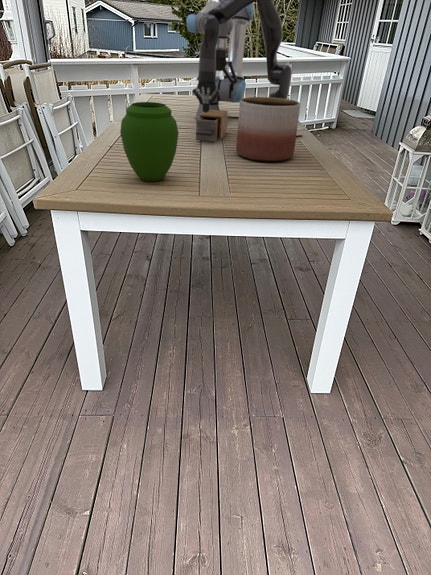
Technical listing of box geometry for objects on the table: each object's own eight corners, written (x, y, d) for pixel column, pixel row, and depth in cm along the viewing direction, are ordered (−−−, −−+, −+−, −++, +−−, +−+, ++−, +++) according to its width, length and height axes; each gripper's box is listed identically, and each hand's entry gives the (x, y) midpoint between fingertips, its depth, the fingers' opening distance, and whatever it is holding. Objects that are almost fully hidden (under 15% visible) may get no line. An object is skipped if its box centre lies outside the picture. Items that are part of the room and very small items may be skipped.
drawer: (213, 144, 191) (214, 123, 187) (193, 142, 193) (193, 121, 188) (222, 135, 209) (223, 115, 204) (203, 133, 210) (203, 114, 205)
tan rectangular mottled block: (220, 140, 203) (221, 116, 198) (199, 138, 205) (199, 114, 199) (226, 133, 217) (227, 110, 211) (206, 131, 219) (207, 109, 213)
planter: (301, 163, 172) (310, 106, 161) (242, 163, 168) (247, 105, 157) (283, 148, 194) (289, 97, 182) (230, 148, 189) (234, 96, 178)
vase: (131, 189, 135) (125, 110, 122) (118, 172, 150) (112, 100, 137) (186, 184, 142) (187, 109, 129) (169, 168, 157) (167, 99, 144)
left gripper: (191, 47, 194) (190, 96, 205) (243, 50, 190) (240, 100, 201) (195, 47, 200) (194, 94, 211) (245, 50, 196) (242, 98, 208)
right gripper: (190, 69, 176) (189, 112, 186) (220, 71, 174) (218, 114, 184) (194, 68, 183) (194, 110, 192) (223, 70, 181) (221, 112, 190)
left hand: (216, 97), depth 206 cm, fingers open, 13 cm apart
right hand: (206, 112), depth 188 cm, fingers closed
